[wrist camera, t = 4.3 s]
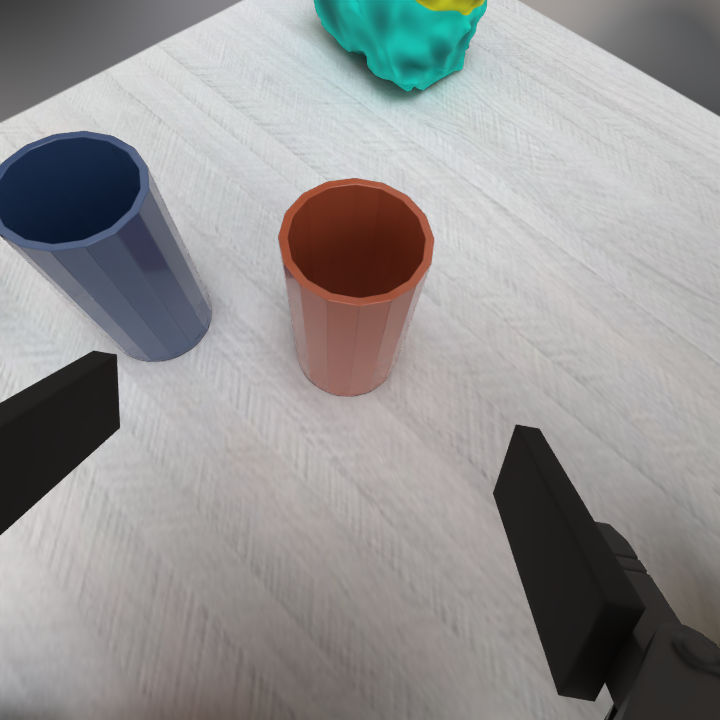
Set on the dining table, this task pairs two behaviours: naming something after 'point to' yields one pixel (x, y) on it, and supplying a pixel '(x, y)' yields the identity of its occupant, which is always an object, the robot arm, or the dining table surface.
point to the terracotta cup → (353, 280)
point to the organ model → (405, 35)
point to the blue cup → (105, 241)
